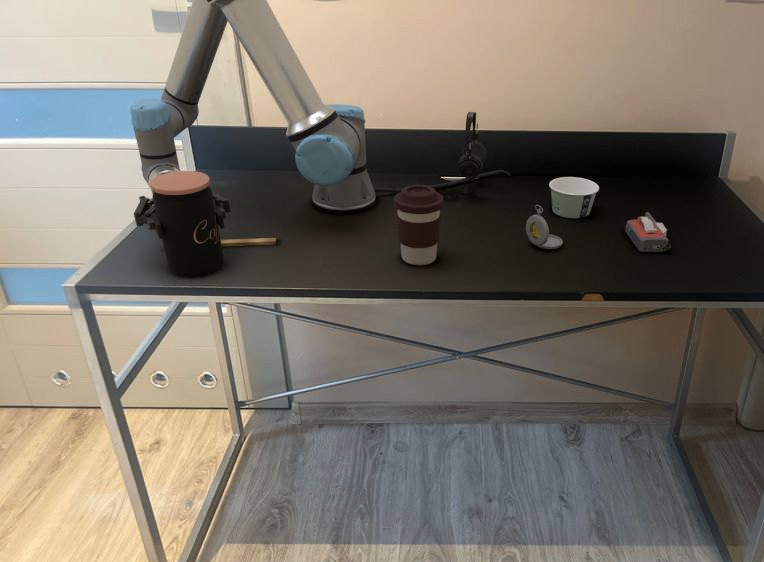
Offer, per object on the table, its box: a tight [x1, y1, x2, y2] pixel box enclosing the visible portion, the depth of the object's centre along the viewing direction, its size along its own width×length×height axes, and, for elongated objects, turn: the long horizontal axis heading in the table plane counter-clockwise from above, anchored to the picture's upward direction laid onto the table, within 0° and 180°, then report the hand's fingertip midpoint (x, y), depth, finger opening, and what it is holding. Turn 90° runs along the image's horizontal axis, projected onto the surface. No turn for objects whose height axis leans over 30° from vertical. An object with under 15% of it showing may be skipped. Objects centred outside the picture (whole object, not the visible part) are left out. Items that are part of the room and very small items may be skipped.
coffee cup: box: [393, 184, 444, 266], centre depth 143 cm, size 10×10×15 cm
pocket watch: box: [525, 204, 564, 250], centre depth 152 cm, size 8×8×10 cm
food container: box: [548, 176, 600, 219], centre depth 171 cm, size 12×12×6 cm
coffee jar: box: [149, 170, 224, 278], centre depth 136 cm, size 11×11×18 cm
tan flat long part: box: [220, 237, 277, 247], centre depth 150 cm, size 22×3×1 cm, turn 99°
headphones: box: [439, 111, 488, 201], centre depth 175 cm, size 15×11×20 cm
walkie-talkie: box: [625, 211, 672, 253], centre depth 160 cm, size 9×4×20 cm
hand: (191, 227), depth 133 cm, fingers closed on coffee jar, 11 cm apart
